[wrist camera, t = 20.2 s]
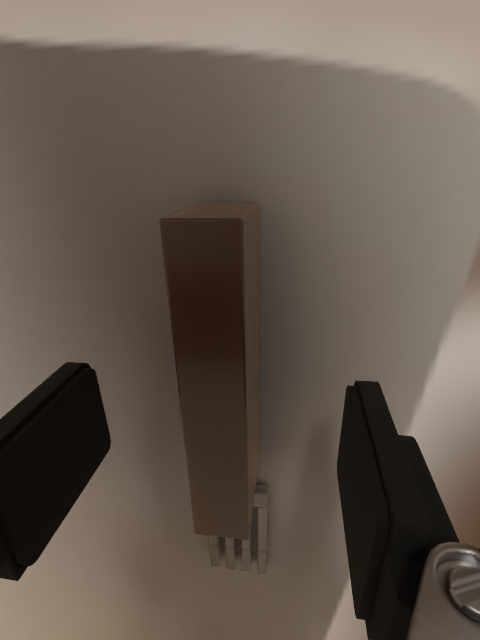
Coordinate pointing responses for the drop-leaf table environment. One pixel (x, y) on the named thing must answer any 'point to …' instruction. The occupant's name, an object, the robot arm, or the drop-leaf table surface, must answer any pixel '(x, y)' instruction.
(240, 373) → the fork
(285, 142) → the drop-leaf table surface
